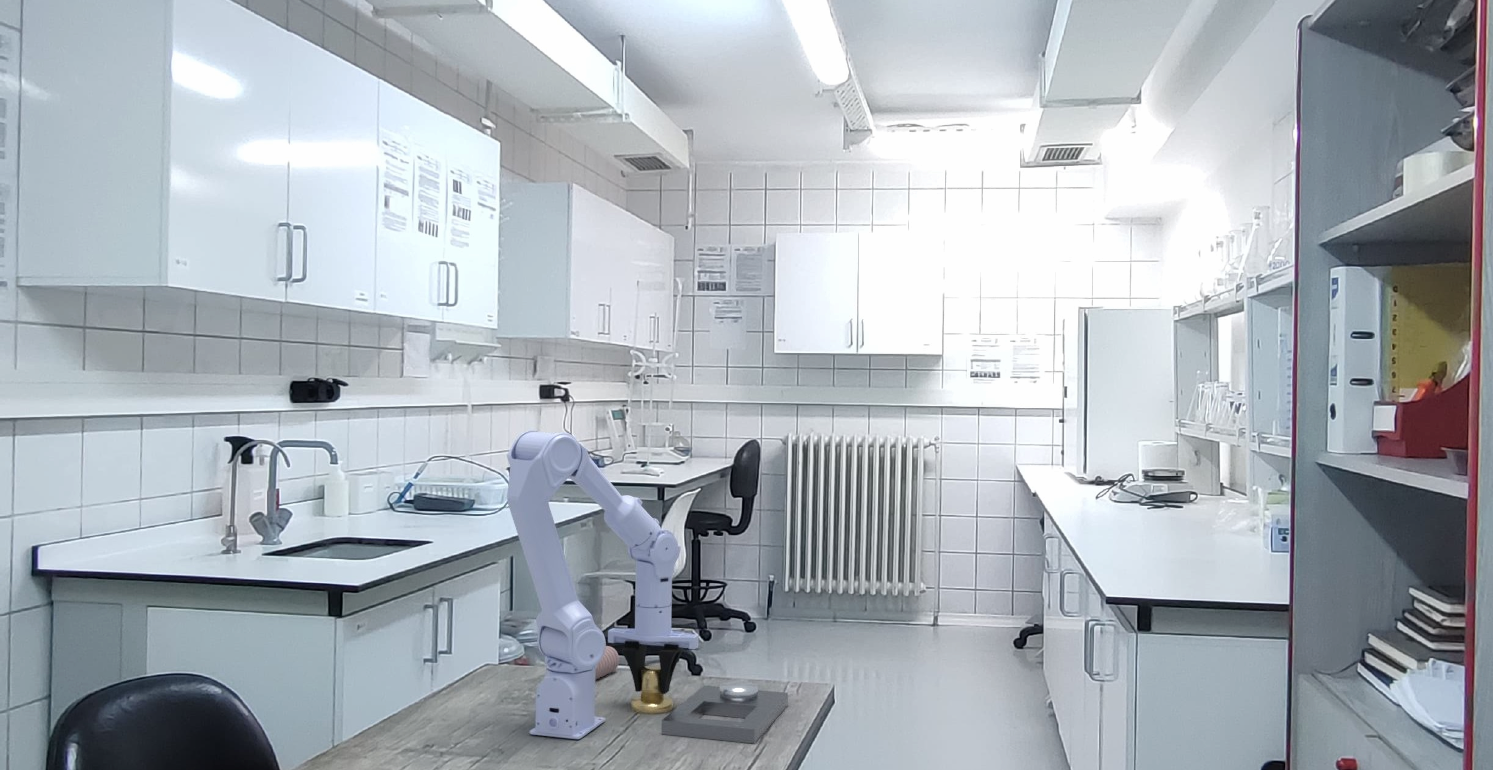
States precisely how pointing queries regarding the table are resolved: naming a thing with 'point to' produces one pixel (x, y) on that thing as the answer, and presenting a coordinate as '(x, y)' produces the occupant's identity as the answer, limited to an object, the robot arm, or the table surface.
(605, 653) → the coil
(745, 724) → the carrier plate
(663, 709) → the gold flanged round piece
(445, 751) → the table surface
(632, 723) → the table surface
